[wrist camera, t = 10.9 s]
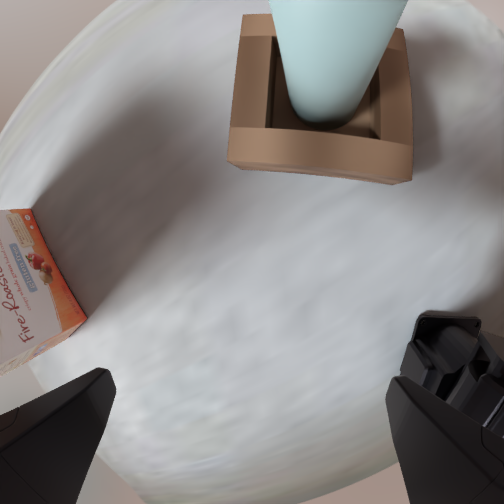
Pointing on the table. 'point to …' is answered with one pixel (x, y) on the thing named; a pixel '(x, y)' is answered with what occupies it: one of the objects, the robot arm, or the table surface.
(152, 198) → the table surface
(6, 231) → the cracker box
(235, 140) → the socket base
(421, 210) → the table surface
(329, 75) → the column
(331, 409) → the table surface
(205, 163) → the table surface
